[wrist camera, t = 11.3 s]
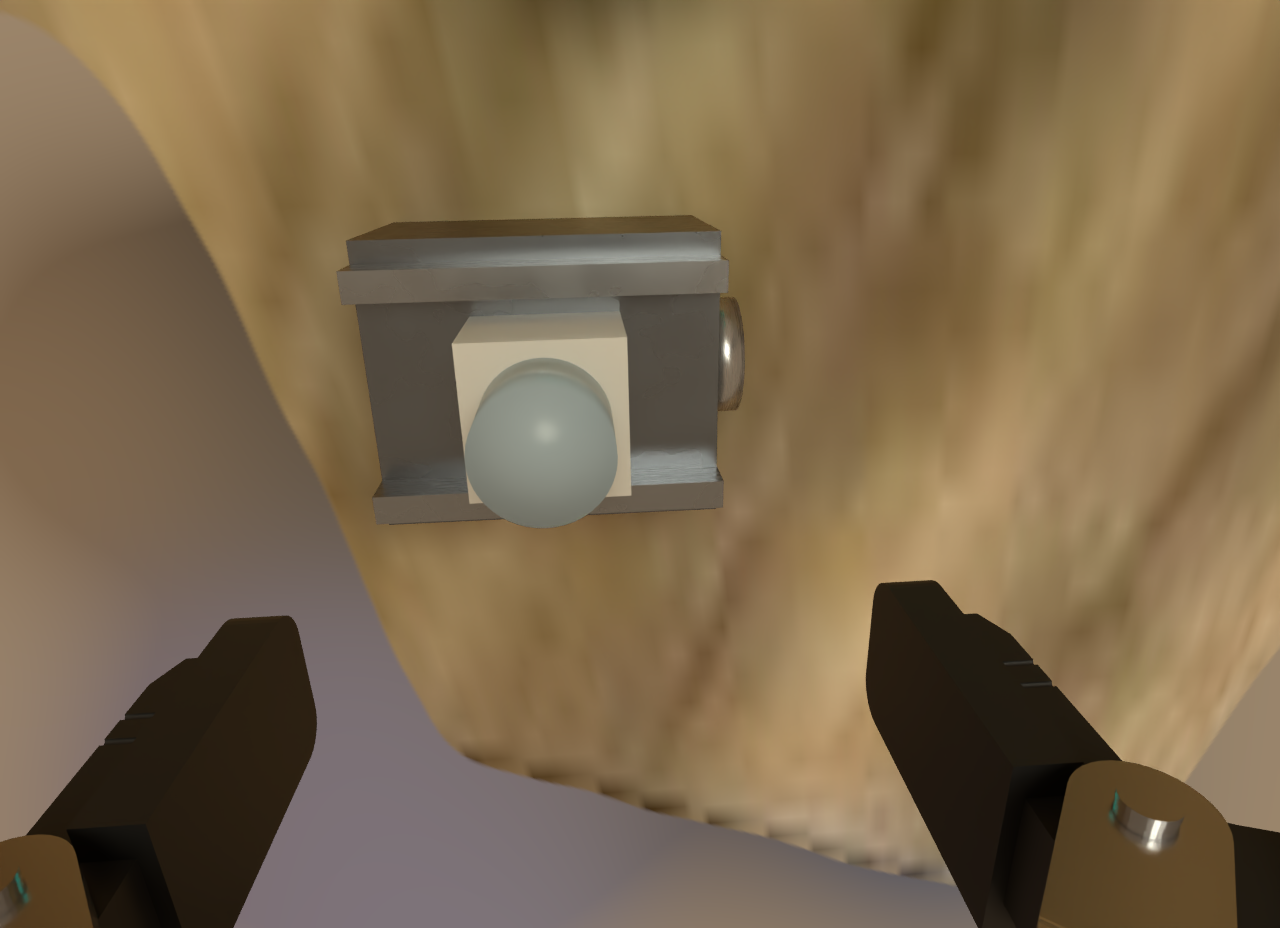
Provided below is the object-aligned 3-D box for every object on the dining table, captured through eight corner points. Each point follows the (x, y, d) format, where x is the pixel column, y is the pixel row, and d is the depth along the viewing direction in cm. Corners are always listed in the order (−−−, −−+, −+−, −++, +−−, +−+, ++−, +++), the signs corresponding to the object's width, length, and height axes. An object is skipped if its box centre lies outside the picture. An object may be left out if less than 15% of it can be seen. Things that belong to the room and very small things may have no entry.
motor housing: (720, 214, 32) (767, 234, 24) (715, 443, 36) (755, 524, 28) (393, 222, 31) (332, 246, 23) (423, 455, 35) (379, 543, 27)
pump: (619, 311, 26) (634, 363, 20) (623, 450, 28) (638, 539, 22) (469, 316, 26) (433, 371, 19) (483, 456, 28) (455, 549, 21)
